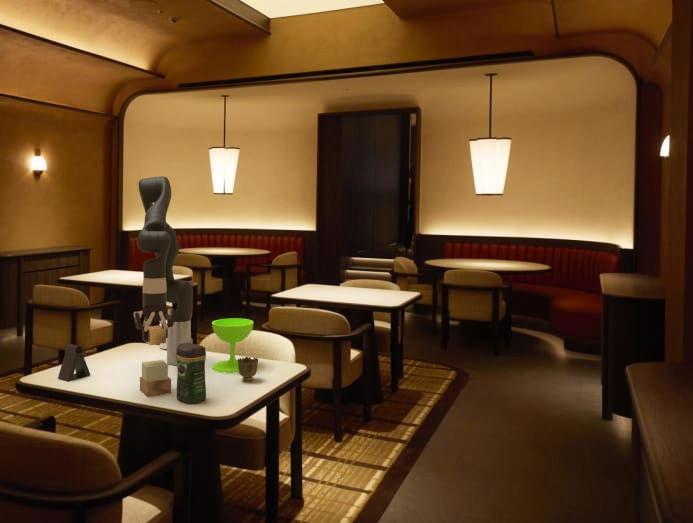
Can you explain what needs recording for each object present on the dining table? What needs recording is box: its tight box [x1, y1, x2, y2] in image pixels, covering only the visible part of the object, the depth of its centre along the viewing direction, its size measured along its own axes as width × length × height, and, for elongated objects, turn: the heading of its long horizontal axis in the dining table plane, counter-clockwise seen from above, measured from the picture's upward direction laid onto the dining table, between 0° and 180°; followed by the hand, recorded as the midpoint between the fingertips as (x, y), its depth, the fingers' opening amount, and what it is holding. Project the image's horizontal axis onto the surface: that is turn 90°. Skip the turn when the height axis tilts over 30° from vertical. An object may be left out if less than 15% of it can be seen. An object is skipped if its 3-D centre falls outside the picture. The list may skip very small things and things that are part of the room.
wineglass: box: [211, 317, 254, 374], centre depth 231 cm, size 16×16×18 cm
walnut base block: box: [139, 376, 172, 398], centre depth 200 cm, size 8×8×5 cm
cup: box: [237, 356, 259, 382], centre depth 215 cm, size 8×7×8 cm
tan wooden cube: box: [145, 325, 166, 346], centre depth 198 cm, size 5×5×5 cm
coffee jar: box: [175, 342, 207, 404], centre depth 192 cm, size 10×8×19 cm
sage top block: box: [141, 359, 169, 382], centre depth 199 cm, size 7×7×5 cm
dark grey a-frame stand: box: [57, 343, 91, 383], centre depth 214 cm, size 9×6×12 cm, turn 148°
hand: (155, 340), depth 198 cm, fingers closed on tan wooden cube, 5 cm apart
